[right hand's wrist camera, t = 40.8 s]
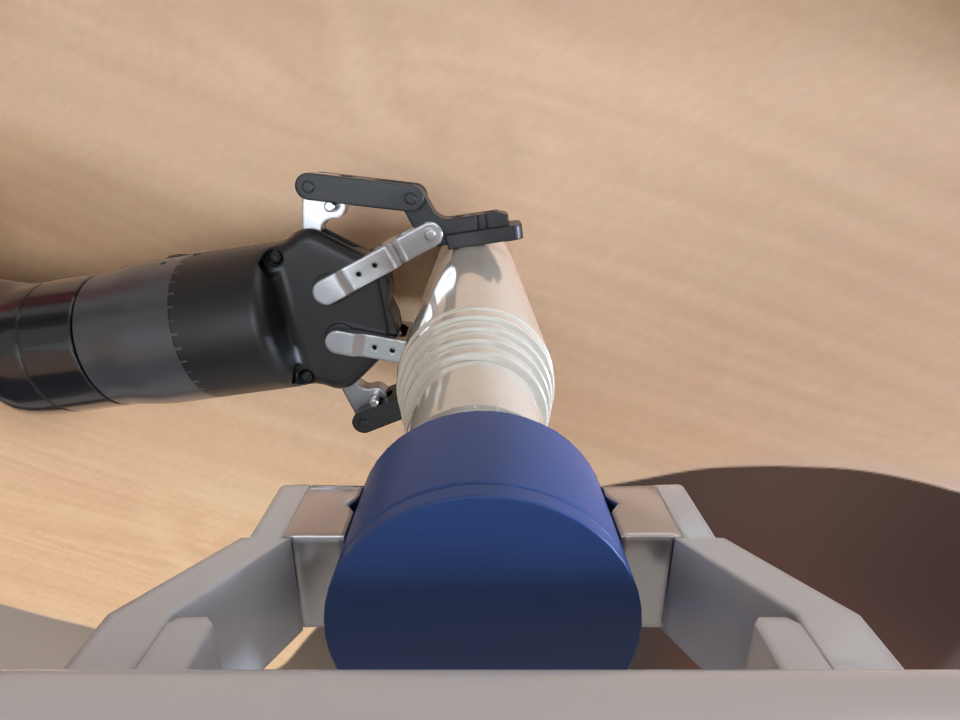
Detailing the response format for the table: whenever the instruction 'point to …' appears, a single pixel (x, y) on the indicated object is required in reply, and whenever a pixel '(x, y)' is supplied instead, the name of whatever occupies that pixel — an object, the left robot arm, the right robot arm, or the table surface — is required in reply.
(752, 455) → the table surface
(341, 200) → the left robot arm
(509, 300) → the bottle
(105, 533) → the table surface
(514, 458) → the cap
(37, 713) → the right robot arm
